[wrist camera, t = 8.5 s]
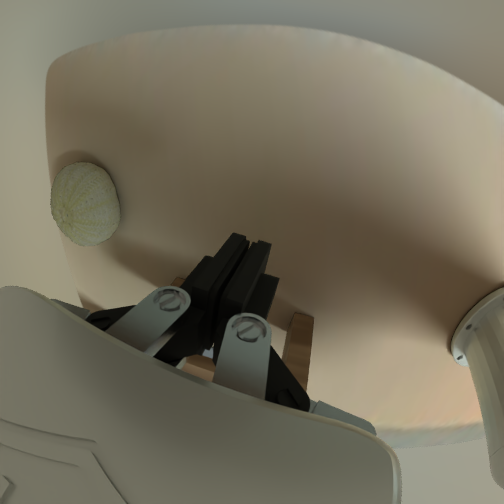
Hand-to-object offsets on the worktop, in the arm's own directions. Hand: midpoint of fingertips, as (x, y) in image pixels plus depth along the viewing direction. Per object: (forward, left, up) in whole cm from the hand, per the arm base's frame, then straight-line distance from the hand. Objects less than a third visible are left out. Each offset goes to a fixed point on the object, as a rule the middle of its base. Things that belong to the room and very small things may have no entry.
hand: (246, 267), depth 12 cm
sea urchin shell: (+19, +5, -11) cm, 22 cm away
